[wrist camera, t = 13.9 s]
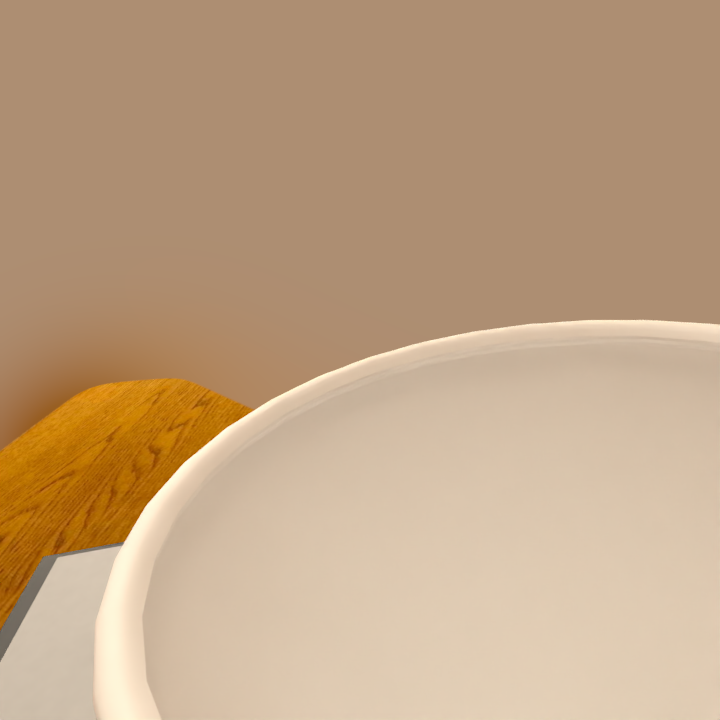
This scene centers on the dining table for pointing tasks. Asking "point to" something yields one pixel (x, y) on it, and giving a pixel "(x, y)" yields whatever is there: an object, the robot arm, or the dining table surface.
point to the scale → (54, 638)
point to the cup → (440, 541)
